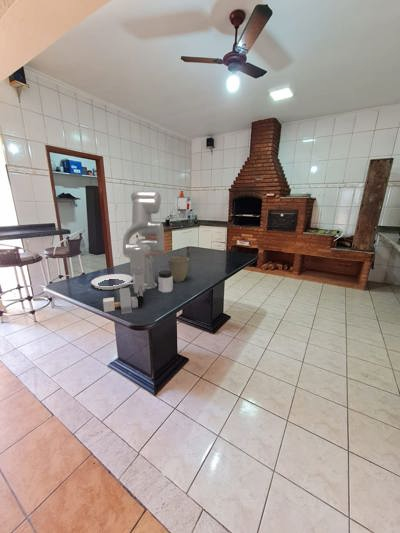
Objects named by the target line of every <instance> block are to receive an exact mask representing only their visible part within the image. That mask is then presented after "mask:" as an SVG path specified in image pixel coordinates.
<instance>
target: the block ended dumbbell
mask: <svg viewBox="0 0 400 533" xmlns="http://www.w3.org/2000/svg"><path fill="white" fill-rule="evenodd" d="M102 304H103V312H104V313H108V312H113V311H115V310H116V309H115V308H116V307H121V302H120V301H118V302H115V297H114V296H113V297H107V298H102ZM138 307H139V304H138V299H137V295H135V296H131V308H138Z"/></svg>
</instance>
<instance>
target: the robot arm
mask: <svg viewBox="0 0 400 533" xmlns="http://www.w3.org/2000/svg"><path fill="white" fill-rule="evenodd" d="M130 199H131V201H132V202H131V203H132V212H131V213H132V216H131V218H132V219H131V221H132V222H131V226H130V227H128V229H127V230H126V232H125V233H124V235H123V239H122V254H123V256H124V257H125V258H129V264H130V265H129V266H130V274H131V276H132V277H133V279H132V281H133V284H132V285H133V290H134V293H135V294H136V296H137V299H138V305H139V304H144V294H143V293H145V290H153V289H155V288H156V287H158V284H157V282H155V266H154V265H155V261H154V258H153V257H152V256H151V255H153V254H156V255H158V254H163V253H164V251H165V233H164V232H165V229H164V224H163V223H162V222H161V221H156V220H155V221H153V220H152V215H153V214H154V215H156V214H158V213H160V209H161V201H162V198H161V194H160V192H159V191H150V190H149V191H148V190H147V191H146V190H145V191H144V190H138V191H133V192H132V193H131V195H130ZM137 233H138V235H139V236H140V237H150V238H140V239H138V240H136V242H135V243H130V239H131V238H132V237H133V236H134V235H136V234H137ZM151 237H152V238H151ZM153 237H155V238H153ZM144 283H145V284H147V285H146V286H144Z"/></svg>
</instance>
